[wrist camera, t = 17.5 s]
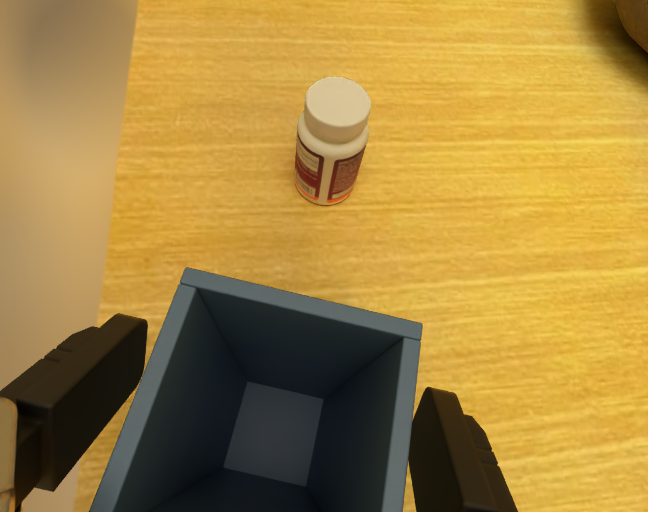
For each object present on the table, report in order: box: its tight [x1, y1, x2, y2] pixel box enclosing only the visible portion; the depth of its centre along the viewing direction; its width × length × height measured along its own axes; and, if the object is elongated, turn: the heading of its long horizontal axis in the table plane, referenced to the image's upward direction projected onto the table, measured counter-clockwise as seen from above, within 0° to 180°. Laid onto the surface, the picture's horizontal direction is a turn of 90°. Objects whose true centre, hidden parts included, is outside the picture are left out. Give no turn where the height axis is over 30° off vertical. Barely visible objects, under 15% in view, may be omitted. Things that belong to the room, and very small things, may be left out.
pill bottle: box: [295, 77, 371, 205], centre depth 28 cm, size 5×5×8 cm
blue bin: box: [89, 267, 423, 512], centre depth 15 cm, size 5×5×17 cm
